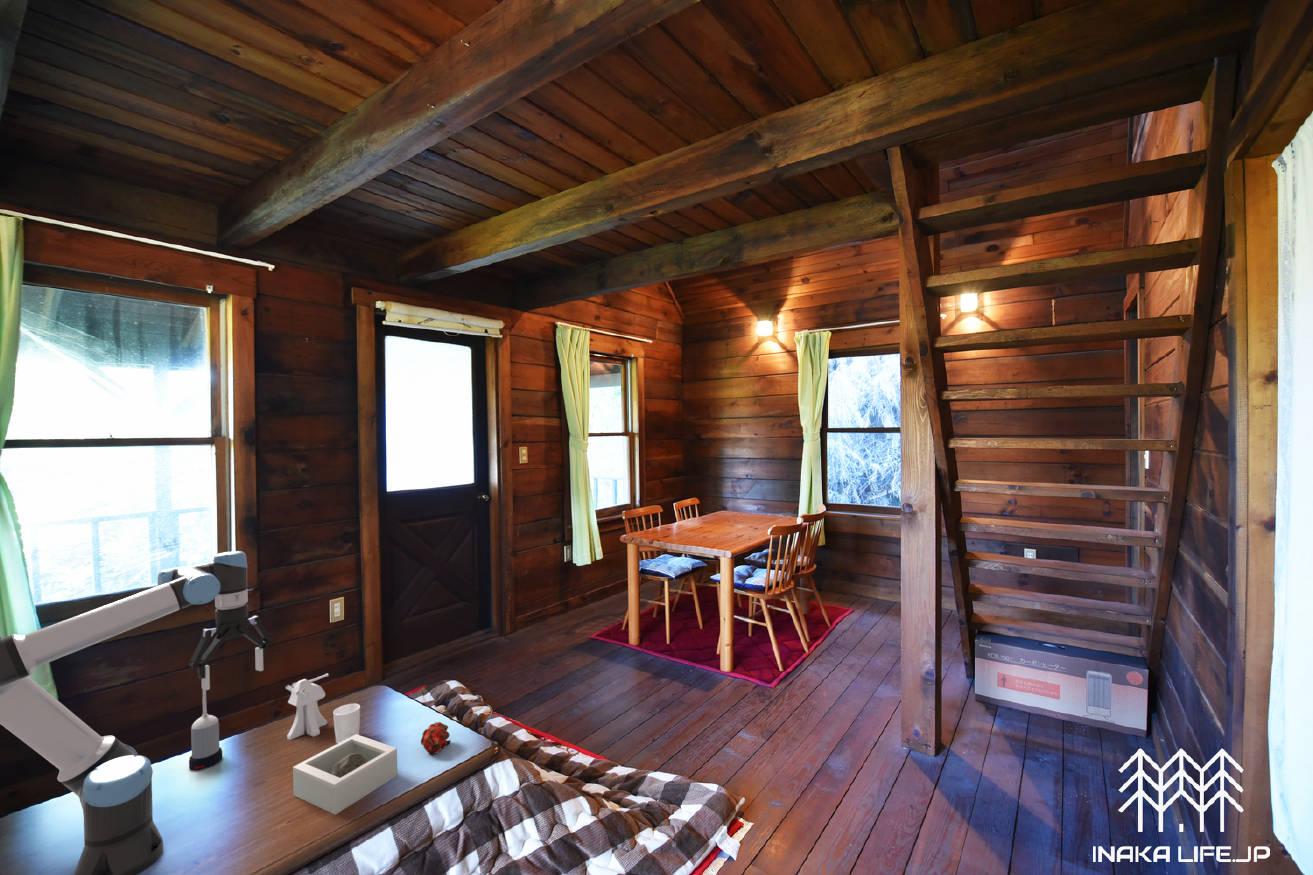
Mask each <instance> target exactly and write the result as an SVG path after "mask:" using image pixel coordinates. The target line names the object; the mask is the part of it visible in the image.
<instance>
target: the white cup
mask: <svg viewBox="0 0 1313 875" xmlns="http://www.w3.org/2000/svg"><path fill="white" fill-rule="evenodd" d="M332 714H333V715H332V716H333V728H334V735H335V743H336V744H338V743H340V742H342V741H344V740H346V739H348V738H350V737H352V736H354V735H355V734H357V735H360V726H361V724H360V723H361V721H360V720H361V705H360V704H359V703H348V704H344V705H341V706H339V707H337V708H335V709H334V710H333V712H332Z"/></svg>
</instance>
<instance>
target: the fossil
mask: <svg viewBox="0 0 1313 875" xmlns="http://www.w3.org/2000/svg"><path fill="white" fill-rule="evenodd" d="M367 762H368V760H367V759H366V758H364V757H363V755H361V754H359V753H353V754H351V755H348V756H346V757H345V758H343V759H341V760H340V761H338V762H337V763H336V764H335V765H334V767H333V769H332V773H331V774H332V775H334V776H336V777H339V778H341V777H343V776H345V775H346V774H348V773H350V772H352V771H353V770H355V769H357V768H358V767H360V766H362V765H364V764H365V763H367Z"/></svg>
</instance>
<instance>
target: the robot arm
mask: <svg viewBox="0 0 1313 875" xmlns="http://www.w3.org/2000/svg"><path fill="white" fill-rule="evenodd" d="M213 556H214V557H213V560H212V561H210V562H205V563H200V564H199V563H198V564H193V565H191V564H190V565H185V566H179V567H178V566H175V567H172V568H167V569H162V570H161V571H159V572H158V575H157V586H154V587H152V588H149V589H147V590H144V591H141V592H138V593H136V594H133V595H130V596H127V597H124V598H123V599H119V600H117V601H114V602H111V603H108V604H105V605H103V606H100V607H97V608H95V609H91V610H89V611H86V612H83V613H81V614H78V615H75V616H72V617H71V618H70V617H69V618H68V619H64V620H61V621H59V622H56V623H54V624H52V625H49V626H45V627H43V628H39V629H37V630H35V631H32V632H29V633H27V634H24V635H23V634H22V635H21V634H15V633H14V634H10V635H7V636H5V637H3V636H1V635H0V726H2V727H4V728H5V729H6V730H8V731H9V732H10V733H12V734H13V735H14V736H15V737H16V738H18V739H19V740H21V742H23V743H24V744H26V745H27V746H28V747H29V748H31V749H32V750H34V751H35V752H36V753H37V754H39V755H40V756H41V757H42V758H44V759H45V760H47V761H48V762H49V763H50V764H51V765H53V766H55V768H56V769H58V770H59V772H58V775H57V777H56V779H57V781H58V782H60V783H61V784H62V785H63V786H64V787H66V788H67V789H68V790H70V791H71V792H72V793H74V794H75V795H76V796H77V797H78V798H79V802H80V804H81V805H80V806H81V807H82V811H83V812H82V813H83V837H84V844H83V845H84V846H83V850H82V852H81V853H80V857H79V860H78V862H77V865H76V867H75V871H74V874H73V875H137V874H138V873H139V874H141V873H142V872H144V871H146V870H147V869H148V868H149V866H150V867H151V866H152V865H153V864H154V863H156V861H158V859H159V858H160V857H161V855H162V854H163V851H164V840H163V837H162V835H161V833H160V831H159V830H158V828H157V826H156V824H155V821H154V818H153V816H154V815H153V781H152V780H153V779H152V778H153V774H154V771H153V766H152V764H151V760H150V759H149V758H148V757H146V756H144V755H139V754H138V752H137V750H135V749H134V748H133V747H132V746H130V745H129V744H125V743H123V742H121V740H119V739H118V738H117V737H116V736H114V735H111V734H110V735H104V736H101V735H100V734H99V733H97V732H96V731H95V730H93V728H91V726H89V725H88V724H86V723H85V722H84V721H83V720H82V719H81V718H80V717H78V716H77V715H76V714H74V713H73V712H72V711H71V710H70V709H68V707H66V705H64V704H63V703H62V702H60V700H58V699H57V698H55V697H54V695H52V694H50V693H49V692H48V691H47V690H45V689H44V688H43V687H42V686H41V684H39V683H37V682H36V681H35V679H33V678H32V677H30V675H33V673H34V672H35V670H36V669H37V668H39V667H40V666H44V665H45V664H48V663H50V662H53V661H56V660H58V659H60V658H61V659H62V657H65V656H68V655H70V654H74V653H75V652H79V651H81V650H83V649H85V648H88V647H91V646H93V645H95V644H98V643H100V642H102V641H106V640H108V639H110V638H113V637H115V636H117V635H120V634H122V633H125V632H129V631H130V630H132V629H135V628H138V627H140V626H142V625H145V624H147V623H151V622H153V621H155V620H158V619H160V618H162V617H165V616H167V615H170V614H172V613H175V612H178V611H179V610H182V609H185V608H188V607H190V606H193V605H203V604H204V605H205V604H207V603H210V602H212V601H213V600H214V604H215V605H214V607H215V608H216V609H215V610H214V611H215V612H214V613H215V627H214V628H203V629H202V632H201V638H200V640H199V642H198V644H197V646H196V647H195V650H194V651H193V654H192V656H191V657H190V661H189V663H188V666H189V667H191V668H196V669H197V671H196V672H197V678H198V679H200V680H201V689H202V690H203V689H204V690H206V691H208V690H210V689H211V683H210V682H211V680H210V679H211V678H210V677H211V676H210V665H208V663H209V661H211V659H212V658H213V657H214V655H215V654H216V653H217V651H218V649H219V648H220V647H221V645H223V644H224V643H225V642H226V641H230V640H233V639H235V638H240V637H242V636H244V637H245V638H247V639H248V640H249V641H251V642H252V643H253V644H255V645H256V646H257V647H255V648H254V651H255V652H254V654H255V656H254V658H255V659H254V660H255V661H254V662H255V666H254V667H255V671H257V672H262V671H263V672H264V659H266V657H267V648H268V647H269V645H270V644H272V643H273V642H274V639H273V638H272V637H271V635H270V634H269V632H268V631H267V629H266V628H265V626H264V625H263V624H262V620H261V619H262V618H261V617H260V616H259V615H252V616H251V617H249V605H248V604H247V603H248V601H249V598H248V596H249V594H248V593H249V592H248V590H249V589H248V562H247V561H248V558H247V555H246V552H244V551H241V550H235V551H234V550H233V551H225V552H224V551H223V552H219V553H217V554H215V555H213ZM250 624H251V625H252V626H253V627H254V629H255V630H256V632H257V633H258V635H259V636H260V638H261V639H260V638H259V637H258V636H256V635H255V634H254V633H252V632H251V630H249V629H247V628H248V626H249V625H250ZM214 634H216V635H215V637H214V638H213V640H212V642H211V643H210V641H211V638H212V637H213V636H214ZM209 643H210V645H209ZM208 645H209V646H208ZM146 868H147V869H146ZM140 872H141V873H140ZM139 874H138V875H139Z"/></svg>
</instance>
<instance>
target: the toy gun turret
mask: <svg viewBox="0 0 1313 875" xmlns="http://www.w3.org/2000/svg"><path fill="white" fill-rule="evenodd" d="M325 677H329V673H325V674H323V675H321V676H317V677H316V678H315V677H314V678H312V679H306V678H303V679H300V680H298V681H297V682H292V684H291V685H290V684H287V685H286V686H285V689H286V690H288V691H289V692H290V693H291V694H290V697H289V699H288V701H287V703H288V704H290V705H292V706H295V707H296V713H295V718H294V721H293V723H292V725H291V728H290V730H289V731H288V733H287V735H286V738H287V740H290V741H291V740H293V739H296V738H298V737H301V736H303V735H305V734H307V735H308V736H310V737H316V736H319V735H320V733H321V731H320V728H321V727H324V726H326V725H327V724H328V720H327V719H325V718H324V717H323V715H322V714H321V711H320V710H319V706H318V701H319V700H322V699H324V698H325V696H326V693H325V690H324V688H323V687H322V686H321V685H318V684H316V683H314V682H315V681H318V680H320V679H324V678H325Z"/></svg>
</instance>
